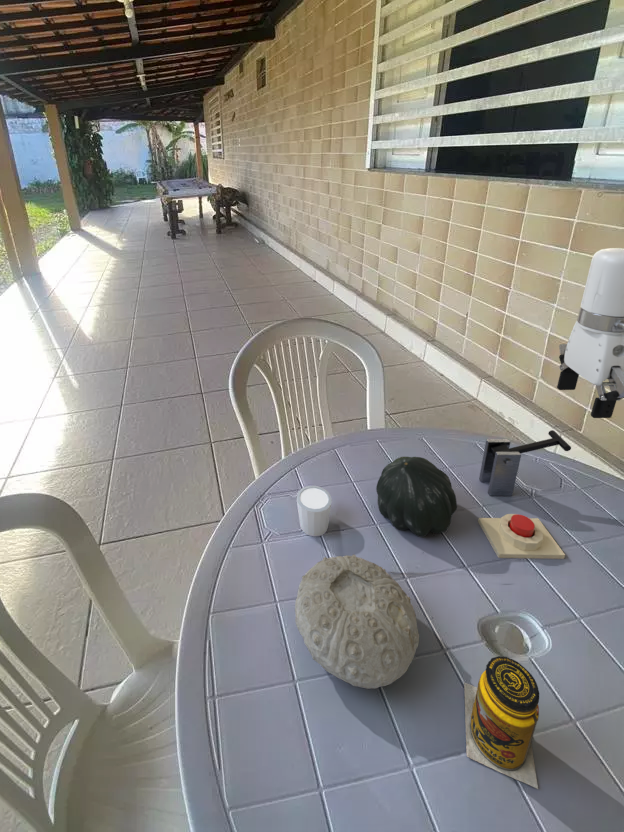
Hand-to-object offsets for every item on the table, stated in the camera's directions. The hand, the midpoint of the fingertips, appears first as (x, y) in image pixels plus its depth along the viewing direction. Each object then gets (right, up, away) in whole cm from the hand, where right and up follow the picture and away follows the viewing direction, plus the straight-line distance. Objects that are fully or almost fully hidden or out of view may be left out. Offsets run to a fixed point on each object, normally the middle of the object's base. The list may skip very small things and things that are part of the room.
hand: (582, 402), depth 81 cm
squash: (-31, -24, +4) cm, 39 cm away
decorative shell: (-48, -33, -16) cm, 61 cm away
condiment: (-33, -37, -27) cm, 56 cm away
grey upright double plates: (-11, -21, +9) cm, 26 cm away
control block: (-14, -26, -3) cm, 30 cm away
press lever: (-7, -11, +5) cm, 14 cm away
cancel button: (-14, -22, -4) cm, 27 cm away
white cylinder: (-51, -26, +4) cm, 57 cm away
